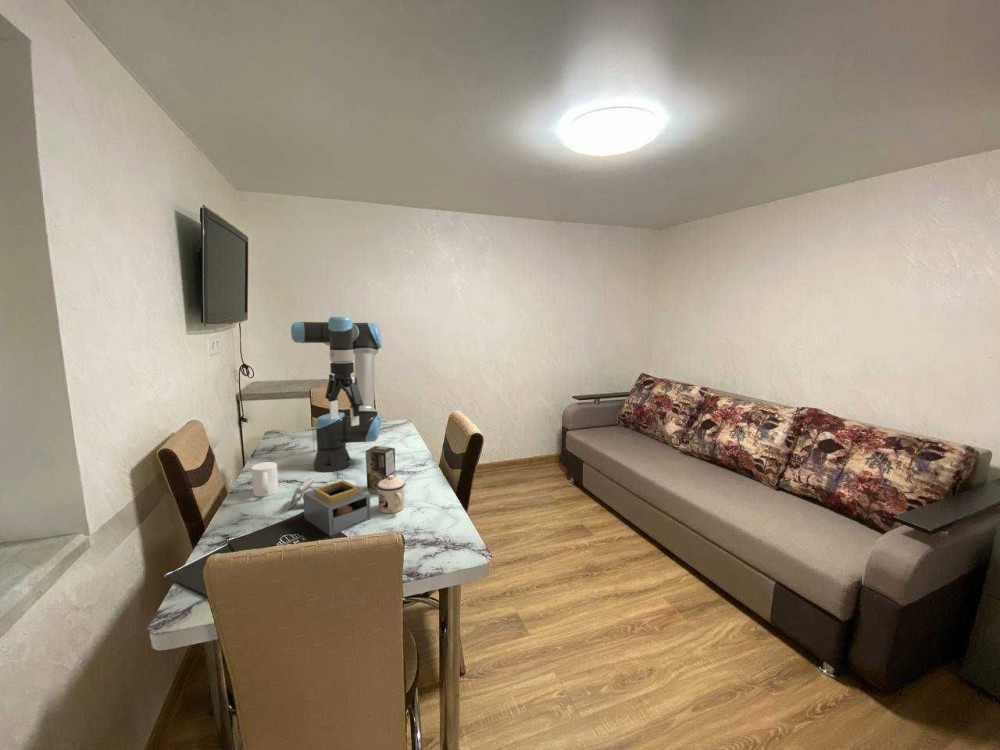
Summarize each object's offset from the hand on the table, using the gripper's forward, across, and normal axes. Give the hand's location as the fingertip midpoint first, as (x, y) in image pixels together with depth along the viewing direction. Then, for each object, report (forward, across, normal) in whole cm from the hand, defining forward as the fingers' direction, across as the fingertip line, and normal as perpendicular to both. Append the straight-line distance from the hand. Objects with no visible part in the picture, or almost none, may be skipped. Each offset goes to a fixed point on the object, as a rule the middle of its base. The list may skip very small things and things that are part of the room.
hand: (344, 422), depth 145 cm
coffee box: (+29, +2, +13) cm, 32 cm away
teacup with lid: (+29, +19, +6) cm, 35 cm away
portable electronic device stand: (+29, -8, -13) cm, 33 cm away
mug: (+29, -27, -17) cm, 43 cm away
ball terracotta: (+25, +13, -10) cm, 30 cm away
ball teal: (+25, +11, -6) cm, 27 cm away
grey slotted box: (+29, +11, -10) cm, 32 cm away
